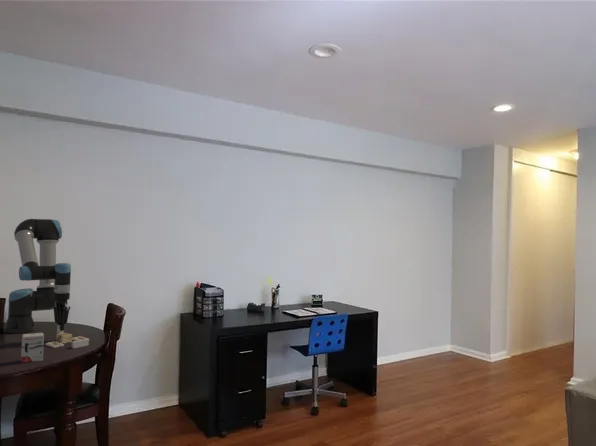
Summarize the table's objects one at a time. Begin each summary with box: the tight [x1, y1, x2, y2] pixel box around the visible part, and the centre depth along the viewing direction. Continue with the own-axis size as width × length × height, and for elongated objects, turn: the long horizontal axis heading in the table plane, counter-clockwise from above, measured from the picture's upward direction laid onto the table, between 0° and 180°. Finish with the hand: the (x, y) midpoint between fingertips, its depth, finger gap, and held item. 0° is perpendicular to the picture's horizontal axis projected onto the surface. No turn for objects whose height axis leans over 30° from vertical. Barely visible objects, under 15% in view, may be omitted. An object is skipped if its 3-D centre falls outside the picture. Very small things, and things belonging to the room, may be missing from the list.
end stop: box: [71, 338, 90, 349], centre depth 231 cm, size 2×8×3 cm, turn 148°
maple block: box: [55, 332, 73, 344], centre depth 239 cm, size 6×5×4 cm
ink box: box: [20, 332, 45, 363], centre depth 206 cm, size 8×5×12 cm, turn 123°
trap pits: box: [45, 335, 89, 349], centre depth 237 cm, size 8×19×1 cm, turn 148°
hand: (60, 336), depth 241 cm, fingers closed
